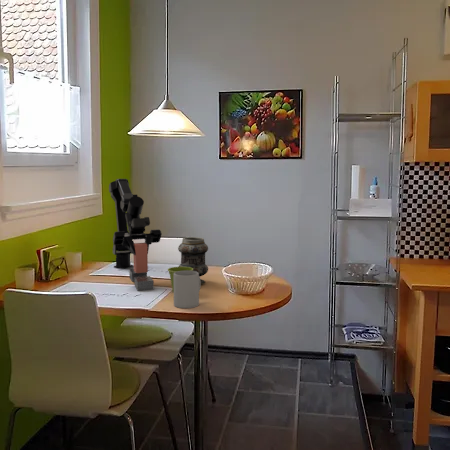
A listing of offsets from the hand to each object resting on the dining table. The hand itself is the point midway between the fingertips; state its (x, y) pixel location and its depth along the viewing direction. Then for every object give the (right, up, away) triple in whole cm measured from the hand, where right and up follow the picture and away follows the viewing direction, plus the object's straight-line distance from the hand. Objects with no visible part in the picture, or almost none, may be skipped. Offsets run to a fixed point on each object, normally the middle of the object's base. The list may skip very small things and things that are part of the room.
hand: (141, 254), depth 203 cm
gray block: (-1, -12, +3) cm, 12 cm away
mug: (+21, -16, -26) cm, 37 cm away
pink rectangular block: (-1, -7, +2) cm, 7 cm away
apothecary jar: (+20, -12, +3) cm, 24 cm away
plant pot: (+16, -14, -10) cm, 24 cm away
